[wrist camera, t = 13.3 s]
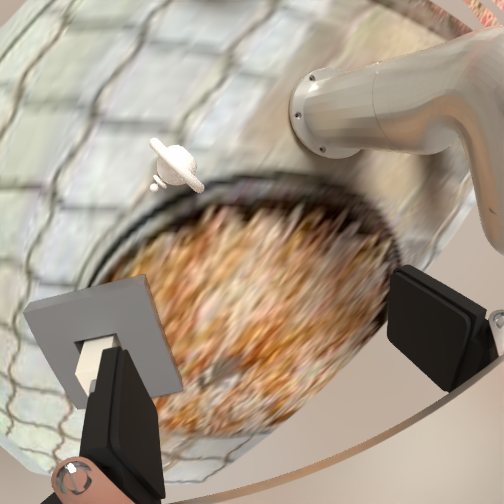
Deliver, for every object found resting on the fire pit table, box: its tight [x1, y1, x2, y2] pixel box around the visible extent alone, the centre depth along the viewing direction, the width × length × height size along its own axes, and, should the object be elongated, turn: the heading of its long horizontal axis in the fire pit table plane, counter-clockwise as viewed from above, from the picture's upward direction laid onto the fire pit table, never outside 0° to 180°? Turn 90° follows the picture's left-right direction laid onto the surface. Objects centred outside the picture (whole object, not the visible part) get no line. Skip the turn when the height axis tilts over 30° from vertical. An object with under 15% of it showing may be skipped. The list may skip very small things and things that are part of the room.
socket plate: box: [23, 274, 183, 409], centre depth 39 cm, size 18×18×3 cm
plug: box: [75, 333, 123, 397], centre depth 36 cm, size 4×4×10 cm
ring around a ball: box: [149, 138, 204, 193], centre depth 32 cm, size 8×6×8 cm
